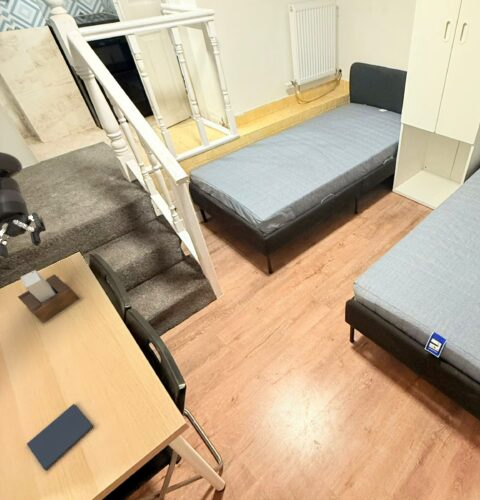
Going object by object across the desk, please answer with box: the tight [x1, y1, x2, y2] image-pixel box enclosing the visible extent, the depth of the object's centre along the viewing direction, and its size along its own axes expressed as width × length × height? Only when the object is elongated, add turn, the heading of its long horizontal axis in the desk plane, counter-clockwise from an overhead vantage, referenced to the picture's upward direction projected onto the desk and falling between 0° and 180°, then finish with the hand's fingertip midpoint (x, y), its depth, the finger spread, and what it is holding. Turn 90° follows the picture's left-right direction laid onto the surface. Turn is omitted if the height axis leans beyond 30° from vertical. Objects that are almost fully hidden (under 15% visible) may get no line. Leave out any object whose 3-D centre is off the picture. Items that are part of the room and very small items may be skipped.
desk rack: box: [17, 273, 80, 324], centre depth 106 cm, size 11×11×5 cm
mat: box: [26, 403, 94, 471], centre depth 79 cm, size 11×9×1 cm
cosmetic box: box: [20, 269, 57, 304], centre depth 104 cm, size 6×4×12 cm
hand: (20, 250), depth 98 cm, fingers open, 8 cm apart
